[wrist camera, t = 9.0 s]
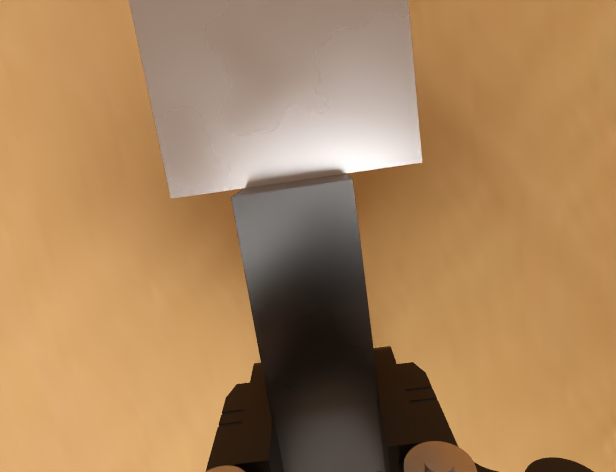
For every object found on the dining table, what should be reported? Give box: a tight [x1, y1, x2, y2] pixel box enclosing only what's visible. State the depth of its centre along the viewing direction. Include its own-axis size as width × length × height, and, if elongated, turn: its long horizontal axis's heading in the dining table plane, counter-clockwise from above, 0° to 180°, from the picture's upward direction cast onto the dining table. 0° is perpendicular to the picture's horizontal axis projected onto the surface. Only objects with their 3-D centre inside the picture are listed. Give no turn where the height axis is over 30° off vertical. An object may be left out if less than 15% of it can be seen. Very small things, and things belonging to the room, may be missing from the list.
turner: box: [129, 0, 422, 472], centre depth 10 cm, size 22×6×3 cm, turn 8°
